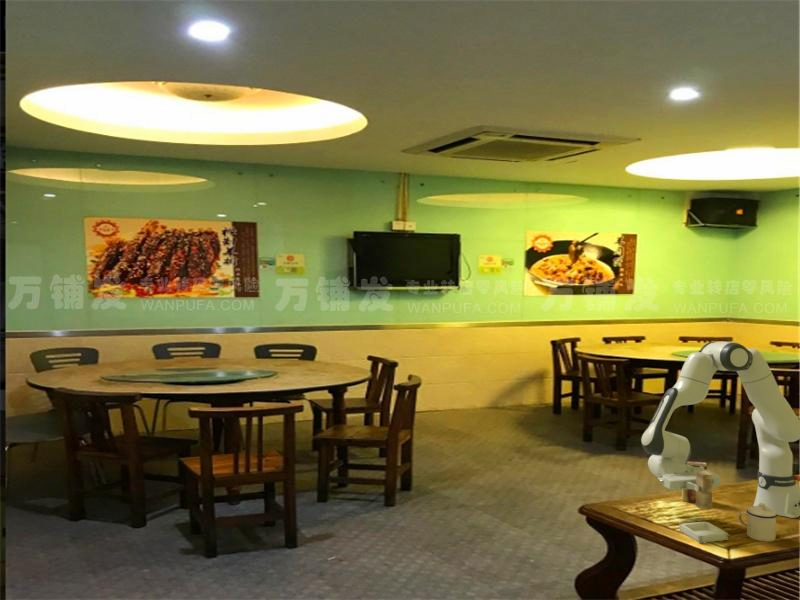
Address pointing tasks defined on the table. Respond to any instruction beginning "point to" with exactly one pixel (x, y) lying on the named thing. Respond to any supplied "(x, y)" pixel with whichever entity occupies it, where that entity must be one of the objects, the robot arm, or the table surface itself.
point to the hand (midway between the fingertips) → (705, 488)
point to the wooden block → (704, 490)
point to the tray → (703, 532)
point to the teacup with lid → (760, 523)
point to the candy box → (690, 494)
